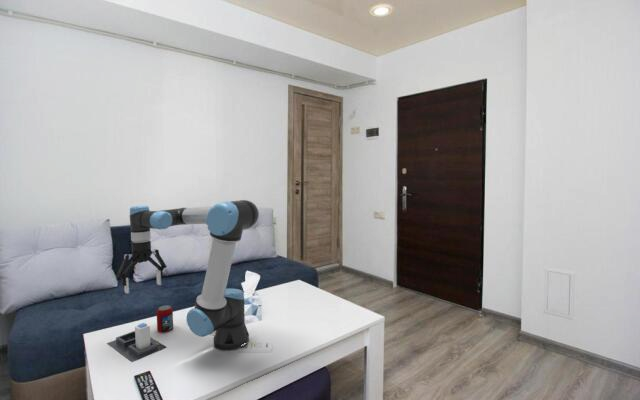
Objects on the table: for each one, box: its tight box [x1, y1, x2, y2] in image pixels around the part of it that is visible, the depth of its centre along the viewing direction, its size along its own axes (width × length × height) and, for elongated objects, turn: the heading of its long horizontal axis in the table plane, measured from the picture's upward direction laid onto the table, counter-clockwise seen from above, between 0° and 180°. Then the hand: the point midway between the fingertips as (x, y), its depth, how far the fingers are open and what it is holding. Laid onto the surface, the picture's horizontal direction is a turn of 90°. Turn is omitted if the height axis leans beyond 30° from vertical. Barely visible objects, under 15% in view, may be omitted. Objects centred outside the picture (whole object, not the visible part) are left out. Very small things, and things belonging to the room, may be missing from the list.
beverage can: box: [156, 304, 174, 334], centre depth 154 cm, size 7×7×12 cm
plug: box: [134, 322, 151, 350], centre depth 136 cm, size 4×4×11 cm
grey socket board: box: [106, 330, 168, 363], centre depth 140 cm, size 24×14×4 cm, turn 53°
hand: (143, 288), depth 147 cm, fingers open, 13 cm apart
